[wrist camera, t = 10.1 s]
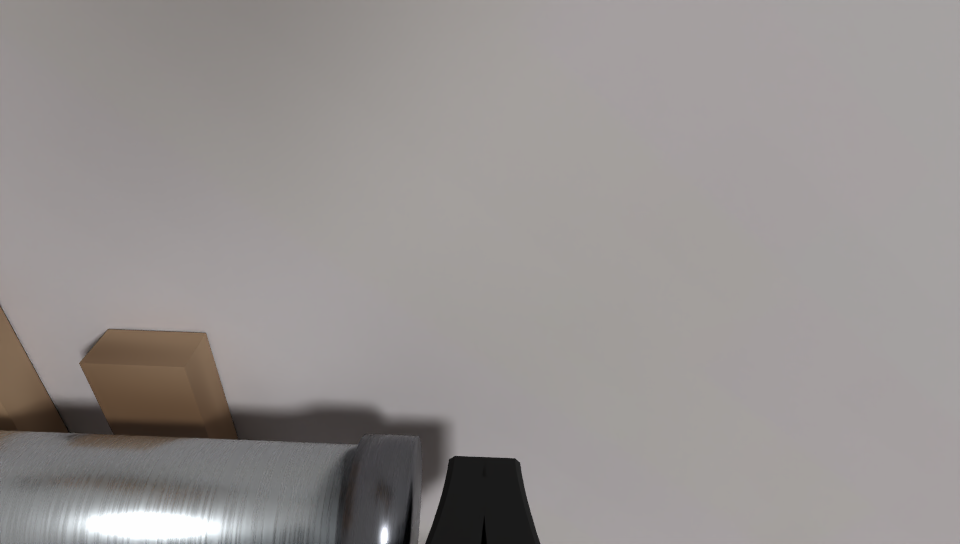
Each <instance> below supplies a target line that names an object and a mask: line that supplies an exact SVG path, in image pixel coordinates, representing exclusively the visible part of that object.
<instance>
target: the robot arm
mask: <svg viewBox="0 0 960 544" xmlns="http://www.w3.org/2000/svg"><path fill="white" fill-rule="evenodd" d="M425 544H540V541H539V538H538V535H537V532H536V529H535V526H534V522H533V519H532V515H531V512H530V508H529V505H528V501H527V497H526V493H525V488H524V484H523V479H522V473H521V466H520V462H518V461H517V460H516V459H515V458H490V457H465V456H454V457H453V458H451V459H449V463H448V470H447V475H446V480H445V484H444V488H443V492H442V495H441V499H440V502H439V506H438V509H437V512H436V515H435V518H434V521H433V524H432V527H431V530H430V533H429V535H428V538H427V540H426V543H425Z"/></svg>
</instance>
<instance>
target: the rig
mask: <svg viewBox="0 0 960 544" xmlns="http://www.w3.org/2000/svg"><path fill="white" fill-rule="evenodd" d="M79 364H80V366H81V368H82V370H83V372H84V374H85V376H86V378H87V380H88V382H89V384H90V386H91V388H92V391H93V393H94V395H95V397H96V399H97V401H98V403H99V405H100V407H101V409H102V411H103V413H104V416H105V418H106V420H107V422H108V424H109V426H110V428H111V430H112V432H113V434H114V435H131V436H157V437H182V438H208V439H233V440H238V437H237V434H236V430H235V427H234V424H233V421H232V417H231V414H230V411H229V407H228V404H227V401H226V397H225V394H224V391H223V388H222V384H221V381H220V378H219V374H218V371H217V368H216V365H215V361H214V358H213V355H212V351H211V348H210V345H209V341H208V338H207V335H206V333H190V332H165V331H139V330H113V329H108V330H107V331H106V333H105V334H104V335H103V336H102V337H101V338H100V340H99V341H98V342H97V343H96V344H95V345H94V347H93V348H92V349H91V350H90V351H89V352H88V354H87V355H86V356H85V357H84V358H83V359H82V361H81V362H80V363H79ZM0 430H4V431H29V432H55V433H69V432H68V430H67V428H66V427H65V425H64V423H63V421H62V419H61V417H60V415H59V414H58V412H57V410H56V408H55V406H54V404H53V403H52V401H51V399H50V397H49V395H48V393H47V392H46V390H45V388H44V386H43V384H42V382H41V381H40V379H39V377H38V375H37V373H36V371H35V369H34V368H33V366H32V364H31V362H30V360H29V358H28V357H27V355H26V353H25V351H24V349H23V347H22V346H21V344H20V342H19V340H18V338H17V336H16V335H15V333H14V331H13V329H12V327H11V325H10V324H9V322H8V320H7V318H6V316H5V314H4V312H3V311H2V309H1V307H0Z"/></svg>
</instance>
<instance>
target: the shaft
mask: <svg viewBox="0 0 960 544" xmlns="http://www.w3.org/2000/svg"><path fill="white" fill-rule="evenodd" d="M421 487H422V449H421V440H420V437H419V436H407V435H382V434H365V435H364V436H363V437H362V438H361V440H360V442H359V444H335V443H310V442H284V441H259V440H233V439H208V438H182V437H157V436H131V435H106V434H80V433H55V432H29V431H4V430H0V544H418V536H419V523H420V508H421Z"/></svg>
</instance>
